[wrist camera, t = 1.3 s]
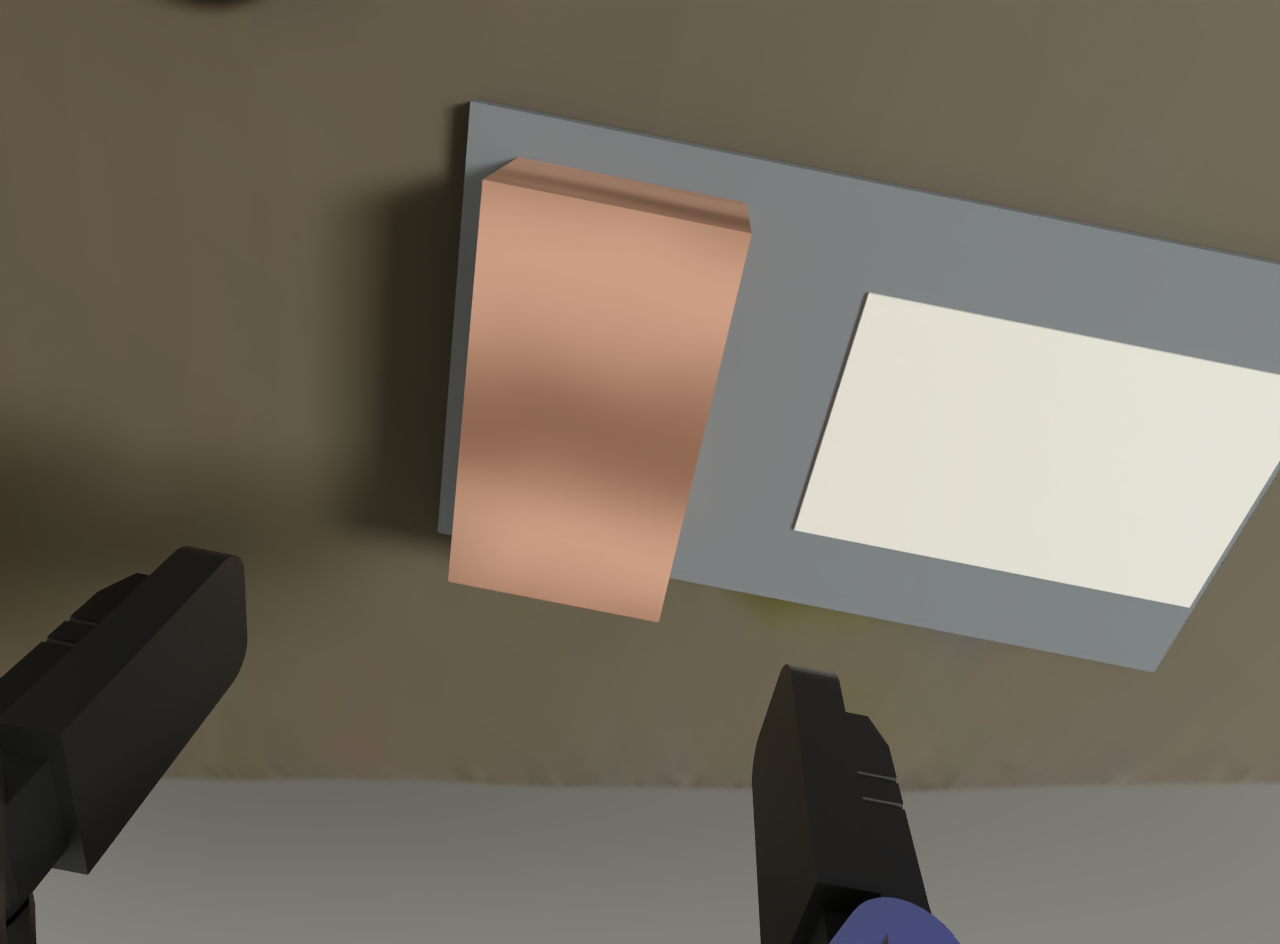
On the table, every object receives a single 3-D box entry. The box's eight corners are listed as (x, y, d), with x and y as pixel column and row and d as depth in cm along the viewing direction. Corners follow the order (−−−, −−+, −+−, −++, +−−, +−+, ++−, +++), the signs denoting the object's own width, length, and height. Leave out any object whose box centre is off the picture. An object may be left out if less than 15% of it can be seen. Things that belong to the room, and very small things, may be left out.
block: (518, 156, 20) (483, 179, 17) (745, 202, 20) (751, 233, 17) (481, 512, 24) (448, 581, 21) (665, 548, 25) (658, 622, 21)
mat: (476, 99, 20) (468, 101, 19) (1373, 280, 20) (1394, 288, 20) (443, 522, 25) (436, 534, 25) (1145, 659, 26) (1155, 674, 25)
